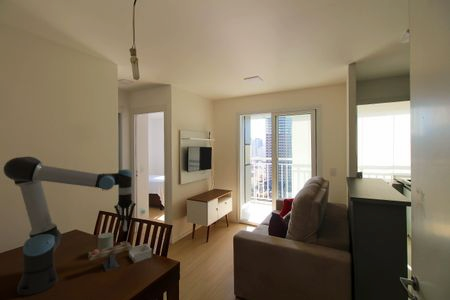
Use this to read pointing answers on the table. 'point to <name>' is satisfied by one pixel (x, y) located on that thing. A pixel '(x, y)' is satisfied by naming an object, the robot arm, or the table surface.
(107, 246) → the can
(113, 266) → the fulcrum
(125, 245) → the lever
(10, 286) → the table surface
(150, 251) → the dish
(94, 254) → the ball
